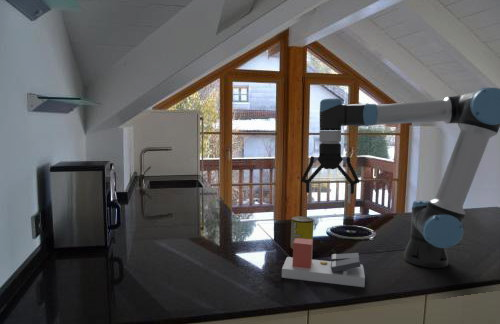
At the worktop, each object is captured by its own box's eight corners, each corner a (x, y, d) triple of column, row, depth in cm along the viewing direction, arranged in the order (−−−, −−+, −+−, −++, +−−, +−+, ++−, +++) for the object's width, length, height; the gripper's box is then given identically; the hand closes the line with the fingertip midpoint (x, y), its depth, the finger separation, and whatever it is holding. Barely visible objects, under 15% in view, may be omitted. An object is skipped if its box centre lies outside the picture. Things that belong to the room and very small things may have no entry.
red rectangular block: (311, 262, 131) (312, 239, 130) (310, 268, 125) (311, 244, 124) (294, 260, 132) (295, 237, 131) (292, 266, 126) (293, 242, 125)
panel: (362, 273, 130) (363, 250, 129) (364, 287, 118) (365, 262, 118) (286, 264, 136) (287, 243, 135) (281, 277, 124) (282, 253, 124)
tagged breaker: (358, 257, 129) (358, 252, 129) (359, 262, 124) (359, 257, 124) (332, 259, 131) (331, 254, 131) (331, 263, 127) (331, 258, 126)
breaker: (359, 261, 123) (358, 256, 123) (360, 266, 119) (359, 261, 119) (332, 266, 126) (331, 261, 126) (332, 272, 121) (330, 266, 121)
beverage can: (299, 242, 163) (300, 215, 162) (316, 248, 156) (318, 219, 155) (285, 247, 157) (286, 218, 155) (303, 252, 150) (304, 222, 149)
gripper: (365, 142, 136) (364, 201, 137) (295, 142, 140) (295, 199, 142) (368, 143, 128) (366, 205, 130) (293, 143, 133) (293, 203, 135)
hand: (329, 202), depth 136 cm, fingers open, 13 cm apart
